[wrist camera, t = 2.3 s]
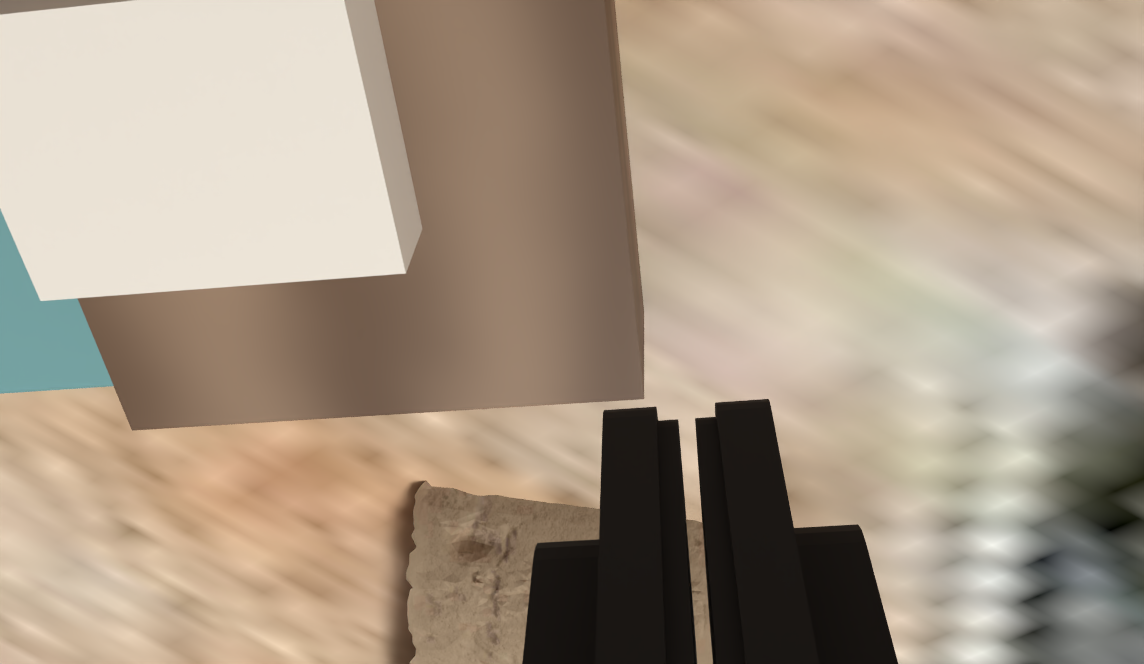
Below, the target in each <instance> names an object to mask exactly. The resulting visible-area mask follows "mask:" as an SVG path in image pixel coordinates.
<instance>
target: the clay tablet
mask: <svg viewBox="0 0 1144 664" xmlns="http://www.w3.org/2000/svg"><path fill="white" fill-rule="evenodd" d="M413 519H414V522H413V525H414V528H415V529H414V531H413V533H412V535H411V537H412V539H413V541H414V543H415V545H416V548H415V549H414V550H413V551H412V552H411V553H410V554H409V566H408V568H407V571H406V581H408V582H409V583H410V584H411V586H412V587H413V588H411V589H410V592H409V597H408V601H407V618H408V624H409V627H408V630H409V631H410V633H411V634H412V643H413V644H414V646H415V648H416V651H415V656H414V658H413V659H412V660H411V661H410V664H522V661H523V651H524V642H525V632H526V622H527V612H528V603H529V593H530V583H531V574H532V564H533V557H534V550H535V547H536V545H537V543H544V542H561V541H579V540H596V539H599V526H600V509H594V508H587V507H578V506H572V505H566V504H554V503H546V502H538V501H531V500H524V499H516V498H509V497H504V496H499V495H488V496H476V495H472V494H468V493H466V492H463V491H460V490H457V489H454V488H441V487H431V486H430V485H429V483H428V482H427V481H425V482H424V483H423V484H422V485H421V486H420V488H419V489H418V491H417V492H416V494H415V506H414V510H413ZM686 523H687V536H688V548H689V561H690V573H691V585H692V598H693V611H694V624H695V637H696V652H697V664H713V658H712V646H711V634H710V622H709V608H708V594H707V580H706V566H705V551H704V537H703V523H701V522H698V521H694V520H686Z"/></svg>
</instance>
